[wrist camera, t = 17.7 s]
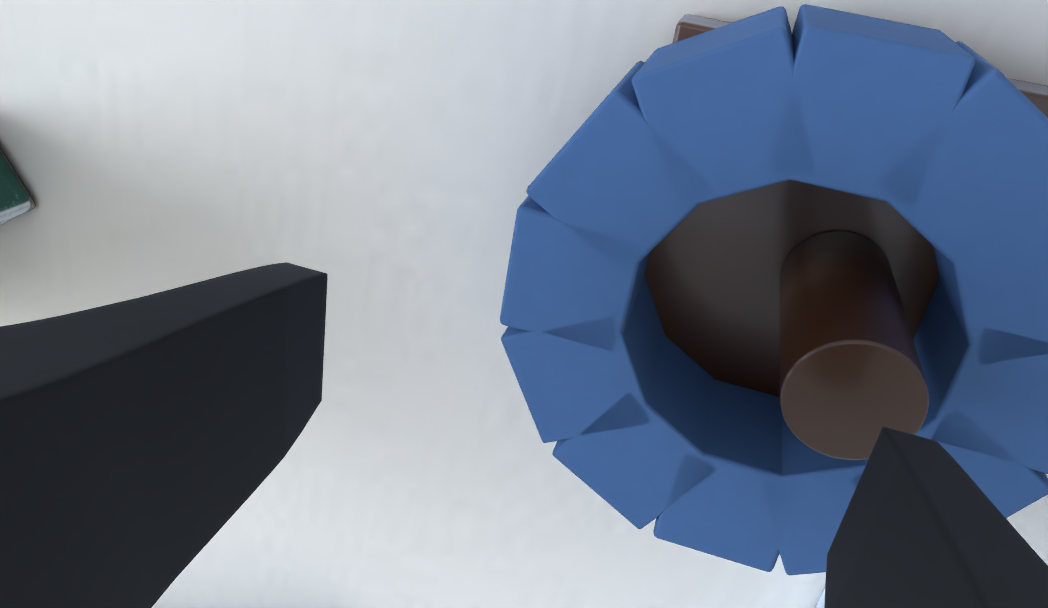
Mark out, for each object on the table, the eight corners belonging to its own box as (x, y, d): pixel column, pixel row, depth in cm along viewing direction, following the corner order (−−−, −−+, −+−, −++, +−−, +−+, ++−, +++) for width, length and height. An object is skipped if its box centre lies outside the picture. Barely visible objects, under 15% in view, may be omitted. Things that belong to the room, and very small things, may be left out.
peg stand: (1142, 104, 14) (1333, 210, 9) (959, 468, 18) (1027, 681, 13) (684, 13, 16) (640, 63, 11) (601, 369, 19) (540, 528, 15)
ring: (1186, 76, 13) (1279, 117, 11) (947, 536, 18) (975, 638, 15) (590, -38, 15) (553, -26, 12) (511, 409, 19) (472, 483, 17)
